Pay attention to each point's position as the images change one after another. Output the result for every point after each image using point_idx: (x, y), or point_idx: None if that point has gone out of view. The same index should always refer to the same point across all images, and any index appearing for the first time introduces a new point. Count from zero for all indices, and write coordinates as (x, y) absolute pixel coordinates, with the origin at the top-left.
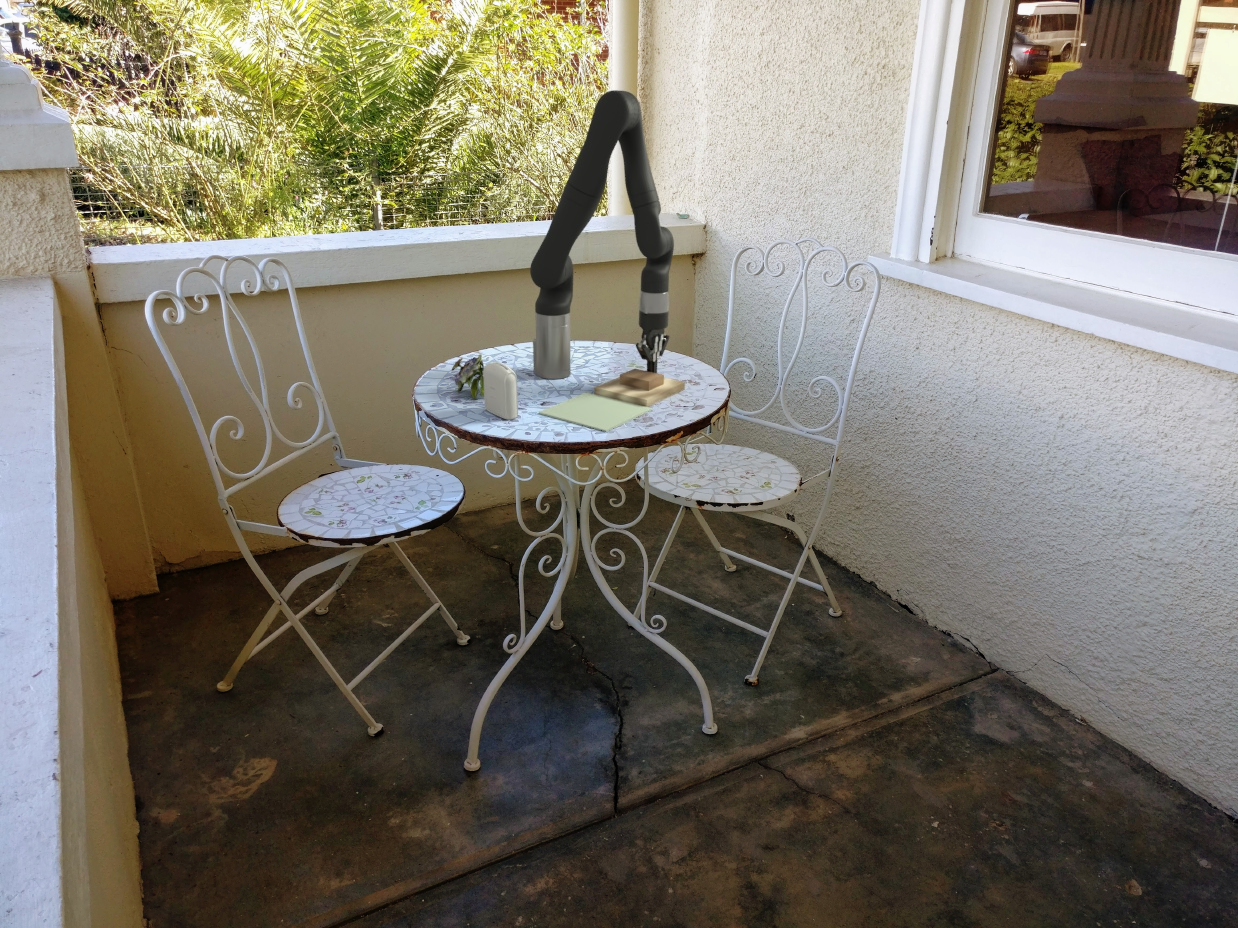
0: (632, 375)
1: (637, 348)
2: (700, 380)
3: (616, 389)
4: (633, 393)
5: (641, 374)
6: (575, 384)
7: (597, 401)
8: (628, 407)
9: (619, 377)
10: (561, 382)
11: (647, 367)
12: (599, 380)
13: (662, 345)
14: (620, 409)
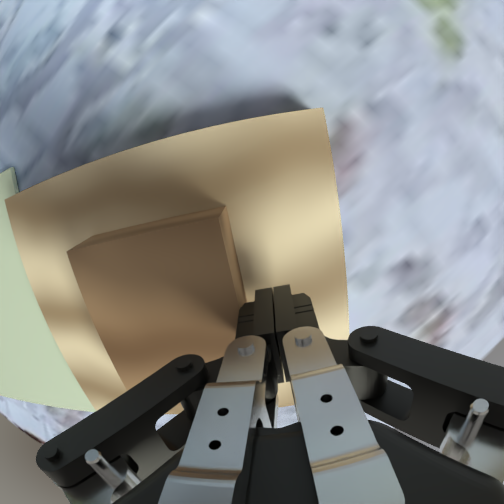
0: (114, 307)
1: (64, 440)
2: (463, 332)
3: (50, 281)
4: (84, 354)
5: (166, 329)
6: (50, 44)
7: (2, 269)
8: (55, 367)
9: (158, 146)
10: (40, 7)
11: (238, 326)
12: (150, 38)
13: (412, 429)
14: (33, 359)
